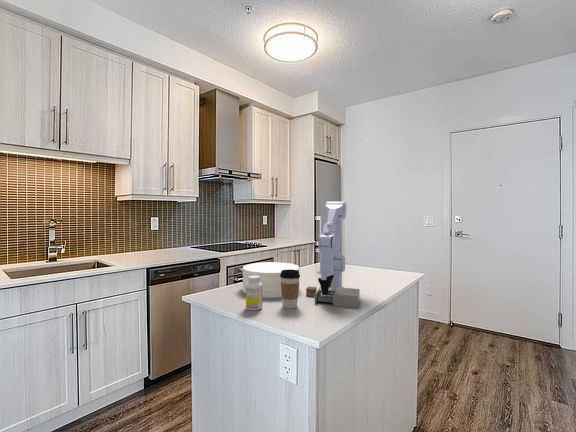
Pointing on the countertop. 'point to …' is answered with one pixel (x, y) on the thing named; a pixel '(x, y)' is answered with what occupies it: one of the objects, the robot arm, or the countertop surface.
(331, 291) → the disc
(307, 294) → the brown cube
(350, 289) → the block
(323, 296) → the tray
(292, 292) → the coffee cup
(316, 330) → the countertop surface
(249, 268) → the plate stack
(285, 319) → the countertop surface
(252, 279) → the supplement bottle
